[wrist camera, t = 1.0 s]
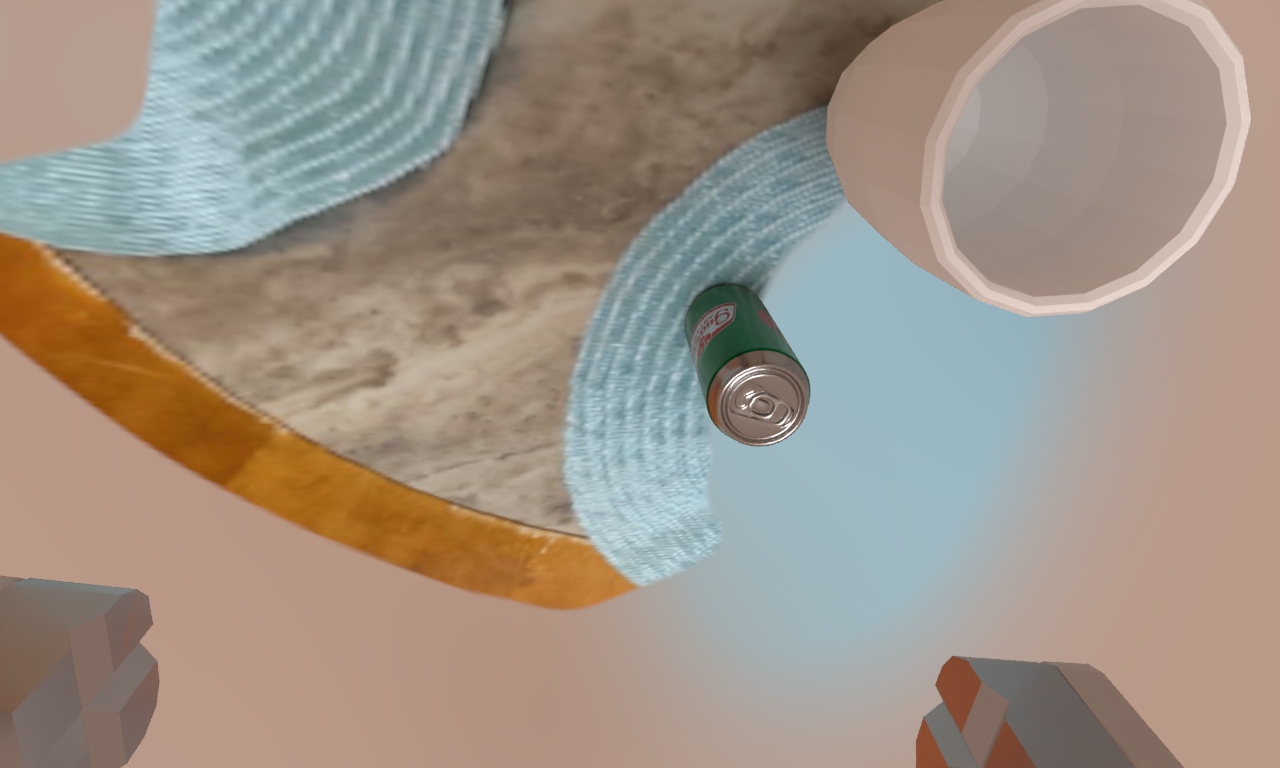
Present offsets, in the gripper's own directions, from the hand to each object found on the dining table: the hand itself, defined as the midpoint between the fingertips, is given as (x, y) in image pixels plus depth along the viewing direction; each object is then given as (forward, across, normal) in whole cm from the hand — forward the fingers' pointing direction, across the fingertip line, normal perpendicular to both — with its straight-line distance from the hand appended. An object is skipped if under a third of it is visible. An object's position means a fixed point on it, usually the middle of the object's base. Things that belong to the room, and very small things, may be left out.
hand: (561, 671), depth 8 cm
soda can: (+38, -9, +7) cm, 40 cm away
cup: (+38, -14, -6) cm, 41 cm away
